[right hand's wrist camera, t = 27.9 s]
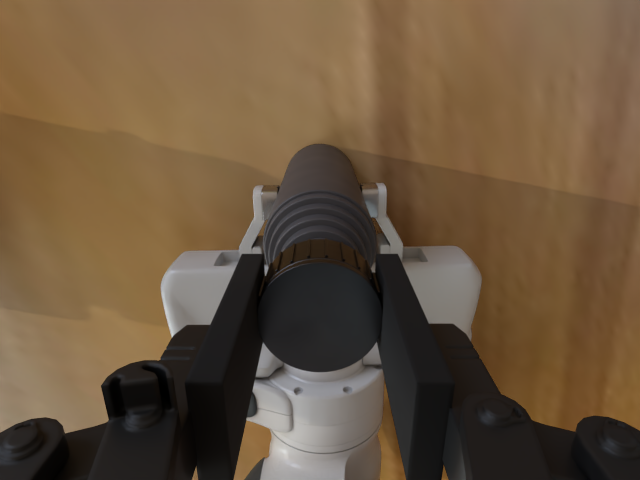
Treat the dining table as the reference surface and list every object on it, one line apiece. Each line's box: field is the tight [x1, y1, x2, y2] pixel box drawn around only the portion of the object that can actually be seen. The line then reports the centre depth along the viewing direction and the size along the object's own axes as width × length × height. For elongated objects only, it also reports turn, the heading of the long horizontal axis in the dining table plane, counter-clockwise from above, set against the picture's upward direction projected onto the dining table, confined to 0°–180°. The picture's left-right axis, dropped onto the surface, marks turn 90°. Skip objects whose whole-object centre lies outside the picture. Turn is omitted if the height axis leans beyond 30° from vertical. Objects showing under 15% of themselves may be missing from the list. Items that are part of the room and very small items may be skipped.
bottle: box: [263, 144, 377, 268], centre depth 22 cm, size 5×5×19 cm
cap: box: [257, 238, 383, 372], centre depth 14 cm, size 4×4×2 cm
